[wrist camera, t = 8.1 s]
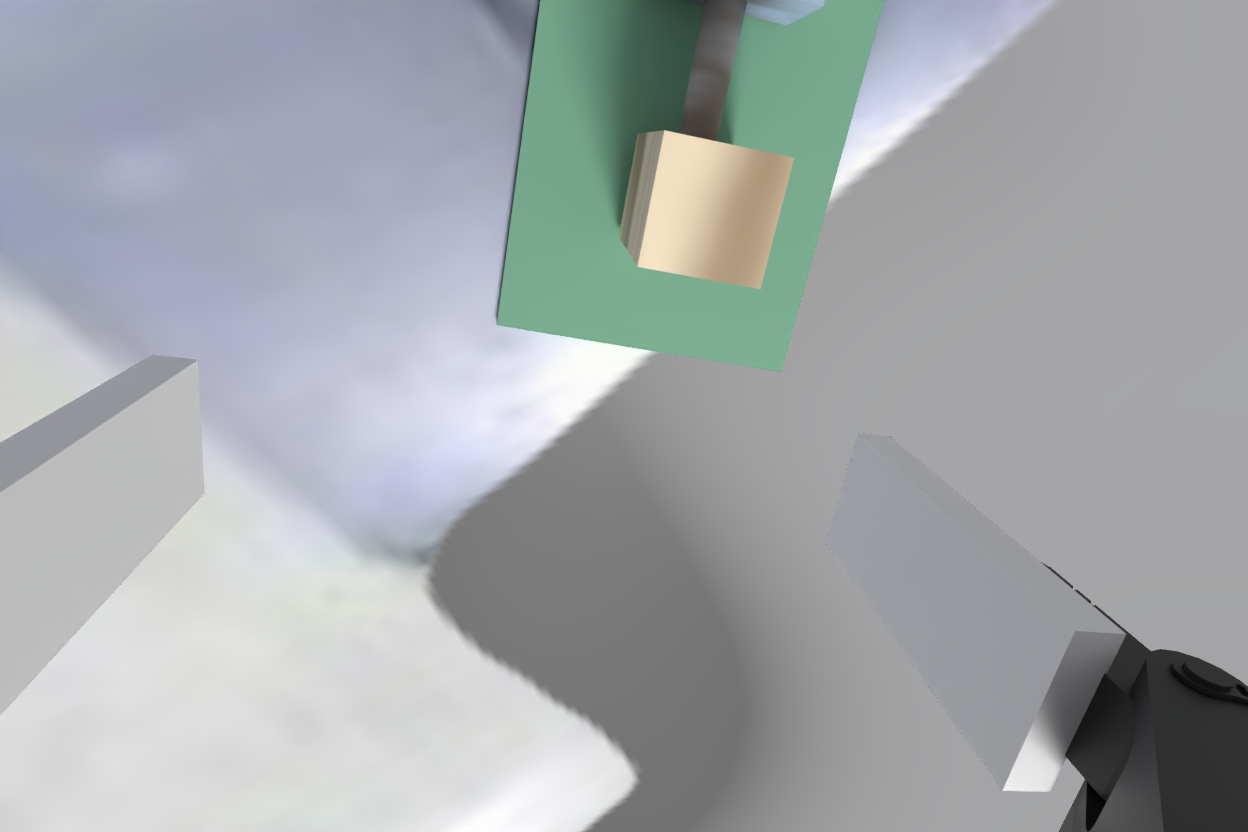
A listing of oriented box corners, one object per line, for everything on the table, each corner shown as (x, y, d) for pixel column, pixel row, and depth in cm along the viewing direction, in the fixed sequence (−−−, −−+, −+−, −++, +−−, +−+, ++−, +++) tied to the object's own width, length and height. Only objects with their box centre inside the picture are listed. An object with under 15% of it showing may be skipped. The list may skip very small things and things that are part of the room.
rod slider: (599, 233, 36) (612, 262, 28) (648, -47, 32) (682, -119, 23) (730, 258, 37) (784, 293, 29) (795, -11, 33) (881, -66, 24)
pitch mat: (497, 323, 39) (496, 324, 38) (578, -281, 30) (578, -286, 29) (778, 370, 41) (781, 372, 40) (930, -178, 32) (934, -182, 32)
